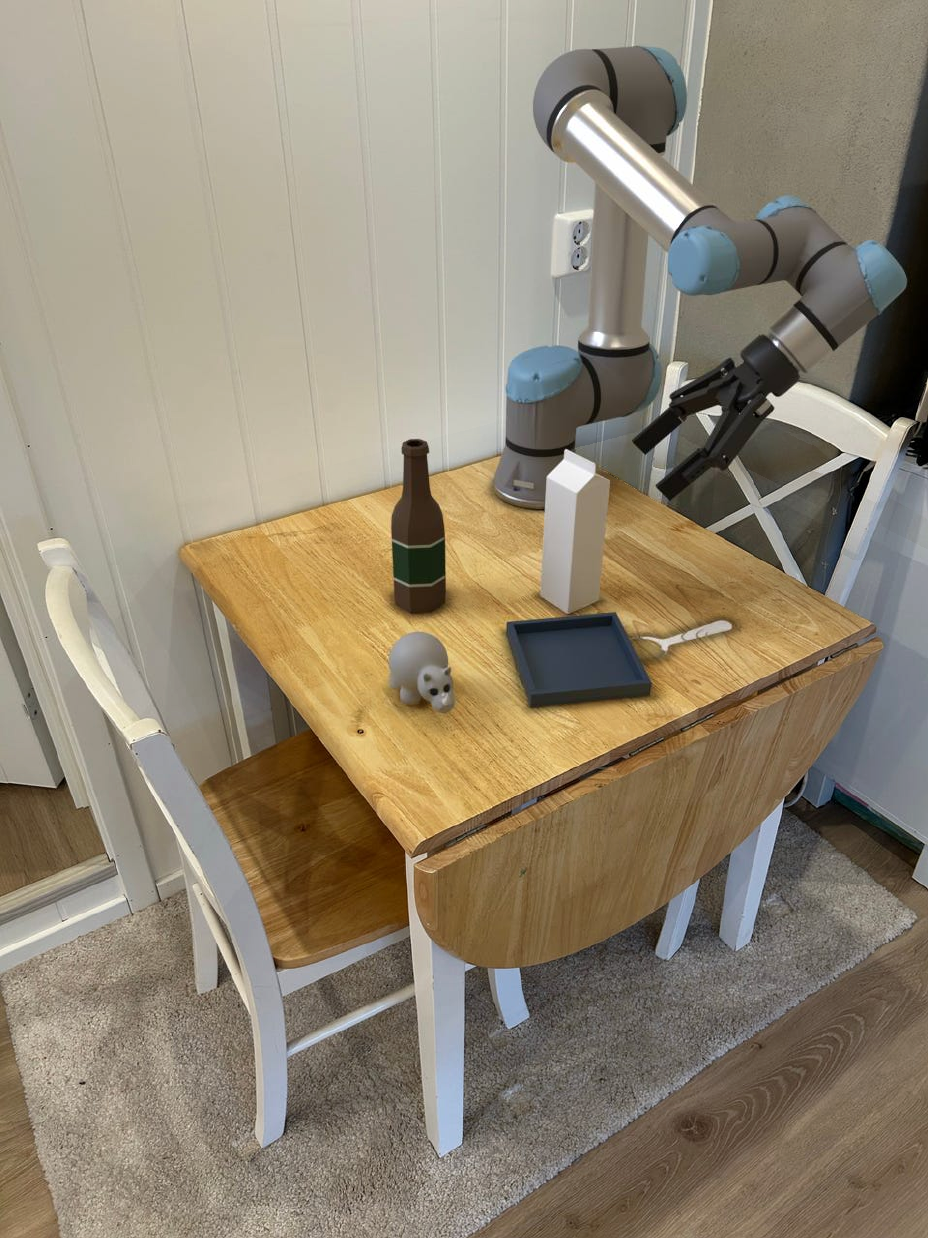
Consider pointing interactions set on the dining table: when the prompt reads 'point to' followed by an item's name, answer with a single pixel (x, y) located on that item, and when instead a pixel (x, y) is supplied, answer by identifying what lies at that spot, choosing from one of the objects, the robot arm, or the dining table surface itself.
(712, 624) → the spoon
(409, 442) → the beer bottle
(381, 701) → the dining table surface
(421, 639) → the toy rhinoceros
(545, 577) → the milk
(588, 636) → the tray
